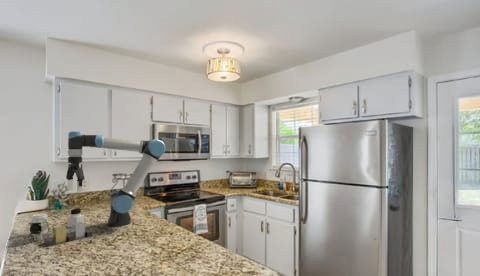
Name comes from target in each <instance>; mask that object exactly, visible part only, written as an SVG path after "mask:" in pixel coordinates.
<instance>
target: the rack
mask: <svg viewBox="0 0 480 276" xmlns="http://www.w3.org/2000/svg"><path fill="white" fill-rule="evenodd" d="M93 235H94V234H93V231H92V230H89V229H87V228H85V237H82V238H78V239H76V235H74V234H72V232H66V242H62V243H57V244H56V240H55V239H53V237H49V236H48V237H43V244H44V245H47V246H48V247H53V246H58V245H62V244H65V243H69V242H74V241H77V240H81V239H85V238H91V237H93Z"/></svg>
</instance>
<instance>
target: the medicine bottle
mask: <svg viewBox="0 0 480 276" xmlns="http://www.w3.org/2000/svg"><path fill="white" fill-rule="evenodd" d="M81 213H82V209H81V208H79V207H76V208H71V209H70V214H69V216H67V217H66V229H67V228H70V229H72V224H73V223H78V222H83V223H85V222H84V221H85V218H84V217H85V216H84V214H81Z"/></svg>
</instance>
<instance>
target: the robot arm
mask: <svg viewBox="0 0 480 276" xmlns="http://www.w3.org/2000/svg"><path fill="white" fill-rule="evenodd" d="M67 139H68V140H67V146H68V148H67V149H68V150H67V156H68V158H67V162H68V166H67V172H66V175H65V176H66V177H65V178H66V179H67V191H73V189H74V176H76V178H77V179H76V184H77V185H76V193H82V192H83V183H84V182H83V181H84V180H85V175H84V169H83V164H82V163H83V157H82V156H83V147H84V148H85V147H86V148H89V147H90V148H99V149H106V150H107V149H109V150H117V151H128V152H137V153H139V154H142V157H141V159H140V160H139V162H138V164H137V165H136V167H135V169H134V171H133V172H132V174H131V175H130V177H129V179H128V181H127V182H126V183H125V185H124V186H123V187H122V188H120V189H119V190H115V191H114V190H113V191H111V192H110V196H109V197H110V204H109V205H110V214H109V216H108V220H107V226H109V227H123V226H126V225H130V224H131V223H132V218H131V215H130V213H129V211H131V209H132V208H133V205H134V201H135V200H136V198H137V192H138V190H139V189H140V187H141V185H142V184H143V182H144V180H145V178H146V177H147V176H148V174H149V172H150V170H151V169H152V167H153V165H154V164H155V163H156V162H158V161H159V159H160V158H161V156H163V155H164V154H165V152H166V144H165V143H164V142H163V140H161V139H158V138H156V139H151V140H150V139H149V140H140V141H137V140H129V139H122V138H121V139H119V138H113V137H106V136H105V137H104V135H102V134H83V131H76V130H75V131H69V132H68V138H67Z"/></svg>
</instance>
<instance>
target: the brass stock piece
mask: <svg viewBox="0 0 480 276" xmlns="http://www.w3.org/2000/svg"><path fill="white" fill-rule="evenodd" d="M66 233H67V226H65V225H59V226H55V227H52V238H53V239H55V240H56V244H57V243H62V242H66ZM66 243H67V242H66ZM62 244H63V243H62Z"/></svg>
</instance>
